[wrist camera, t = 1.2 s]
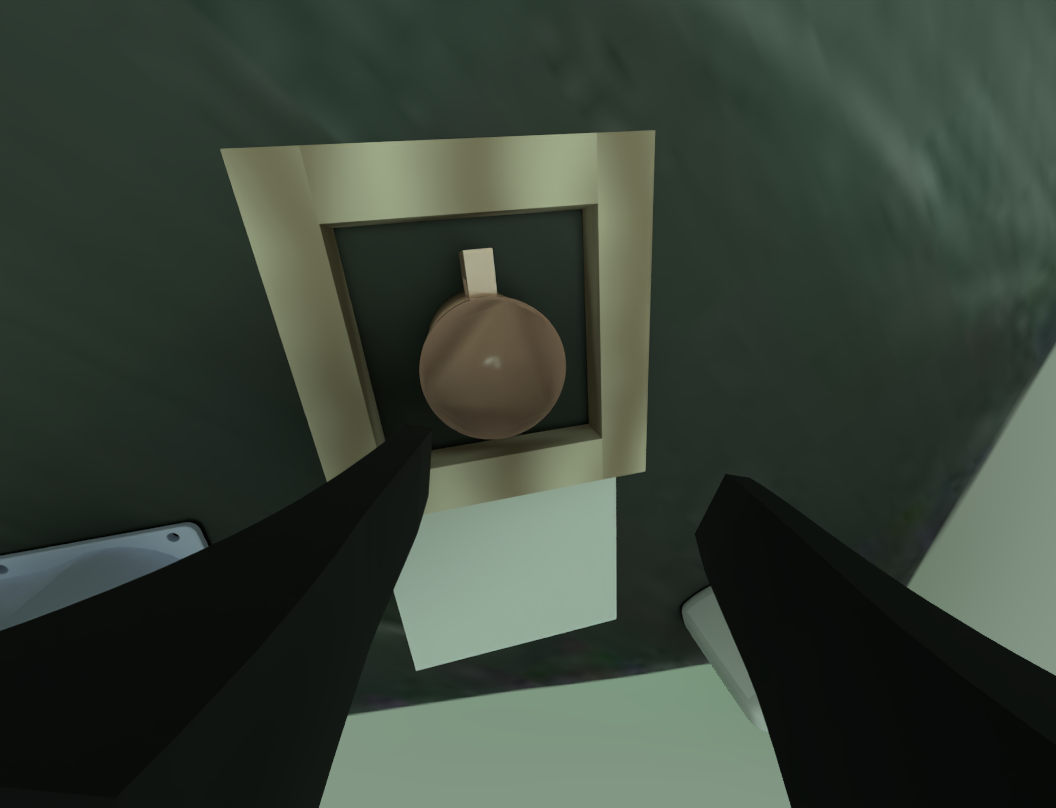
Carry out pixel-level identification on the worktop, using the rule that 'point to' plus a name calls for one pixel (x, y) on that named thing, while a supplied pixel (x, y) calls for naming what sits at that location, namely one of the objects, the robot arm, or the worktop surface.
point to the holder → (451, 193)
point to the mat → (509, 572)
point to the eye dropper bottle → (722, 651)
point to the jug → (490, 357)
